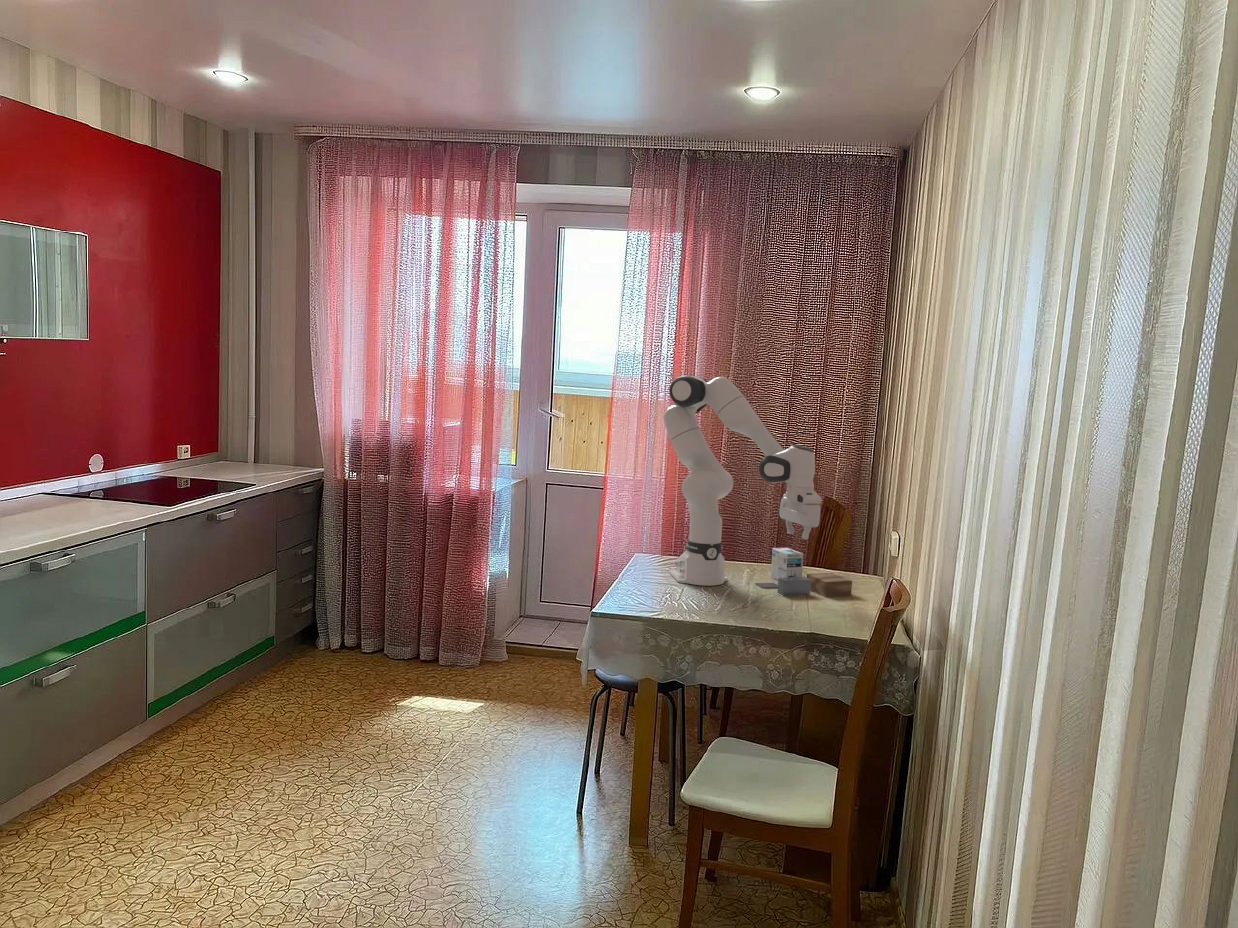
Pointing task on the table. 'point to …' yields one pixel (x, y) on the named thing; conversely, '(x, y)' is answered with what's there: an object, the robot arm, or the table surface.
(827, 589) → the wooden stand
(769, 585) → the loose cover plate
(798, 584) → the metal housing
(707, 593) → the table surface
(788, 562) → the light bulb box
